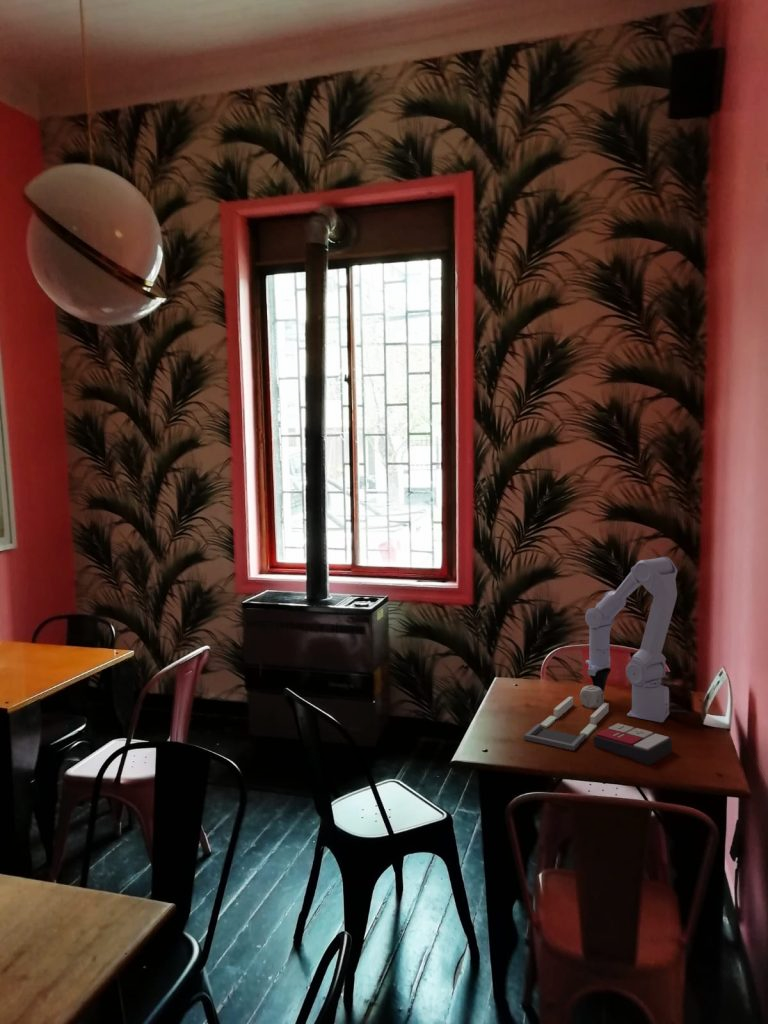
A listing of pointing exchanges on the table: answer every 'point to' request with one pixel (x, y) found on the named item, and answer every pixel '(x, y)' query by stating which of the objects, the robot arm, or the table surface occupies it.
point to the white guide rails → (593, 718)
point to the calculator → (634, 743)
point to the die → (592, 696)
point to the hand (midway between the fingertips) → (599, 692)
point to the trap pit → (554, 738)
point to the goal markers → (586, 730)
